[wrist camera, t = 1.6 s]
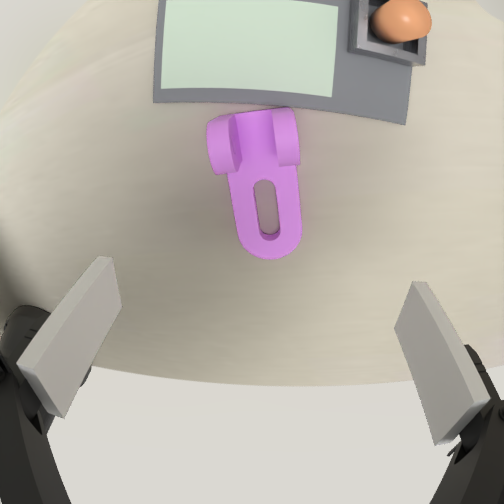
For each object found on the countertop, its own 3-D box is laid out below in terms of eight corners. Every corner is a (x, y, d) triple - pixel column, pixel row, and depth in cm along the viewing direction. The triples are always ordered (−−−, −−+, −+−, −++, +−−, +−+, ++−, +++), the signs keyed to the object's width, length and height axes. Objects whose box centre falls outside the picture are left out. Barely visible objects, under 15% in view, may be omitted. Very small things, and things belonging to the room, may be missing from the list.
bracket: (219, 115, 24) (203, 124, 18) (288, 106, 24) (295, 112, 18) (243, 254, 30) (237, 299, 24) (302, 248, 30) (310, 292, 24)
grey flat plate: (154, 102, 24) (152, 103, 23) (162, -15, 18) (160, -17, 18) (403, 124, 23) (405, 125, 23) (412, 9, 18) (415, 8, 18)
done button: (369, 38, 18) (387, 30, 15) (370, 2, 17) (388, -11, 13) (407, 48, 18) (430, 44, 15) (409, 13, 17) (431, 3, 13)
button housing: (346, 52, 21) (356, 47, 18) (350, -7, 18) (359, -17, 15) (409, 66, 21) (424, 65, 18) (412, 10, 18) (427, 3, 15)
